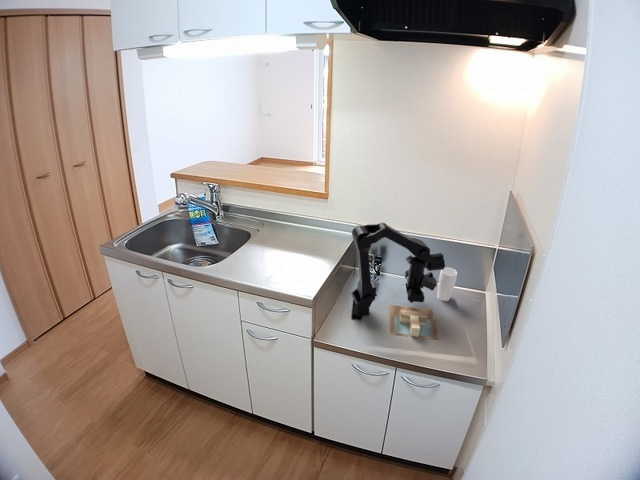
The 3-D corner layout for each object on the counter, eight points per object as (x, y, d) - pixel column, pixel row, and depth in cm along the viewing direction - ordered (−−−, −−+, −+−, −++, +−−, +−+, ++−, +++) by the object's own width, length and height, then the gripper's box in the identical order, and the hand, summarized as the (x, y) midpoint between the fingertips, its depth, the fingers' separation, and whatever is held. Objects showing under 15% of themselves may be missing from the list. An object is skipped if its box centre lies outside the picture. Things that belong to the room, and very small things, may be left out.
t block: (399, 317, 145) (400, 309, 143) (424, 320, 144) (426, 312, 142) (401, 334, 136) (402, 326, 134) (428, 337, 135) (429, 329, 133)
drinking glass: (451, 305, 155) (458, 276, 148) (435, 303, 156) (441, 274, 149) (449, 296, 161) (456, 268, 154) (434, 294, 162) (440, 266, 155)
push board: (389, 337, 137) (390, 334, 136) (388, 307, 153) (388, 305, 152) (438, 342, 135) (438, 339, 134) (431, 312, 151) (432, 309, 150)
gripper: (441, 286, 134) (434, 318, 141) (434, 260, 150) (428, 291, 158) (410, 283, 135) (405, 315, 143) (407, 258, 152) (402, 288, 159)
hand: (411, 302), depth 150 cm, fingers closed
